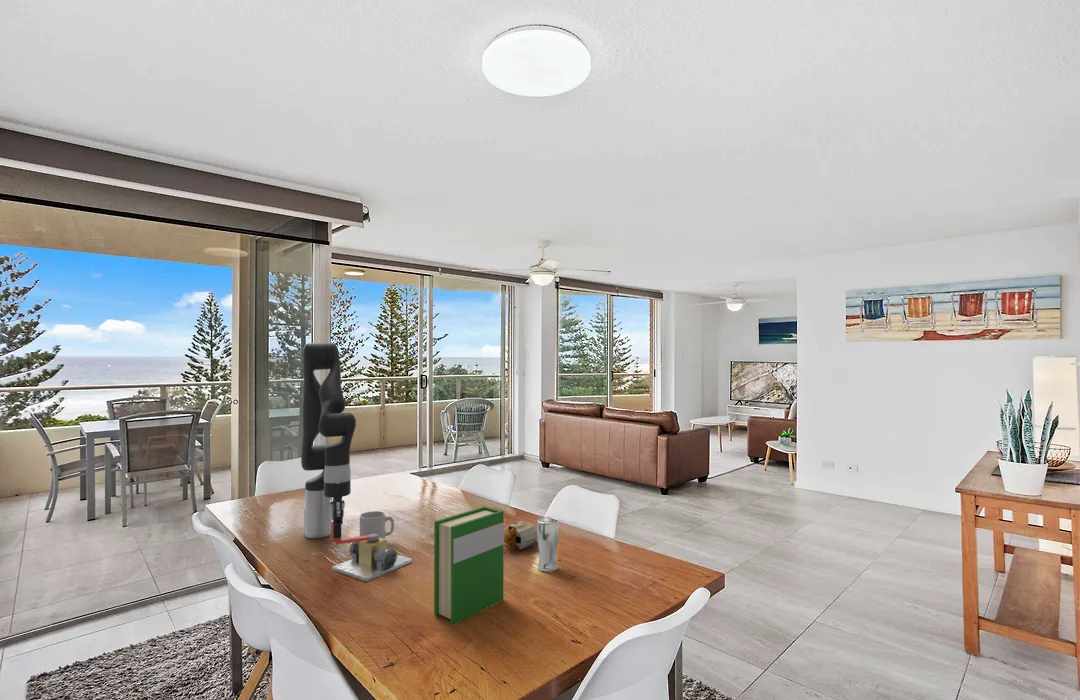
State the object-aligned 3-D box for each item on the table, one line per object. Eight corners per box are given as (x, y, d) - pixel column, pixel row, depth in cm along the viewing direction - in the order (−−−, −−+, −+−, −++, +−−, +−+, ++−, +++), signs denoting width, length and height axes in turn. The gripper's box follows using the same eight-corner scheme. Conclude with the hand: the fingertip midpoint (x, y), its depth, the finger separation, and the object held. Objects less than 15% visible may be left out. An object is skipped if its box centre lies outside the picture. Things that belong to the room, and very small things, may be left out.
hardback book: (453, 625, 128) (453, 527, 129) (434, 615, 133) (434, 521, 134) (503, 600, 142) (503, 511, 142) (484, 592, 147) (484, 506, 147)
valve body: (332, 569, 162) (332, 543, 162) (379, 551, 177) (379, 528, 177) (365, 581, 153) (365, 554, 154) (412, 562, 168) (412, 537, 169)
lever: (378, 536, 168) (378, 515, 168) (379, 540, 165) (379, 519, 165) (330, 543, 162) (330, 521, 162) (330, 546, 159) (330, 524, 159)
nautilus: (509, 563, 169) (477, 554, 178) (550, 541, 186) (518, 534, 195) (508, 538, 169) (475, 531, 178) (548, 518, 186) (517, 513, 195)
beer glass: (561, 565, 166) (561, 518, 166) (555, 574, 159) (555, 524, 159) (540, 562, 168) (540, 515, 168) (533, 571, 161) (533, 522, 161)
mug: (364, 552, 177) (364, 519, 177) (356, 545, 184) (356, 513, 184) (398, 544, 184) (398, 513, 184) (389, 538, 191) (389, 508, 191)
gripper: (323, 476, 163) (323, 533, 162) (324, 484, 151) (324, 545, 150) (348, 474, 166) (348, 529, 165) (352, 482, 154) (352, 541, 153)
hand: (337, 537), depth 158 cm, fingers closed
